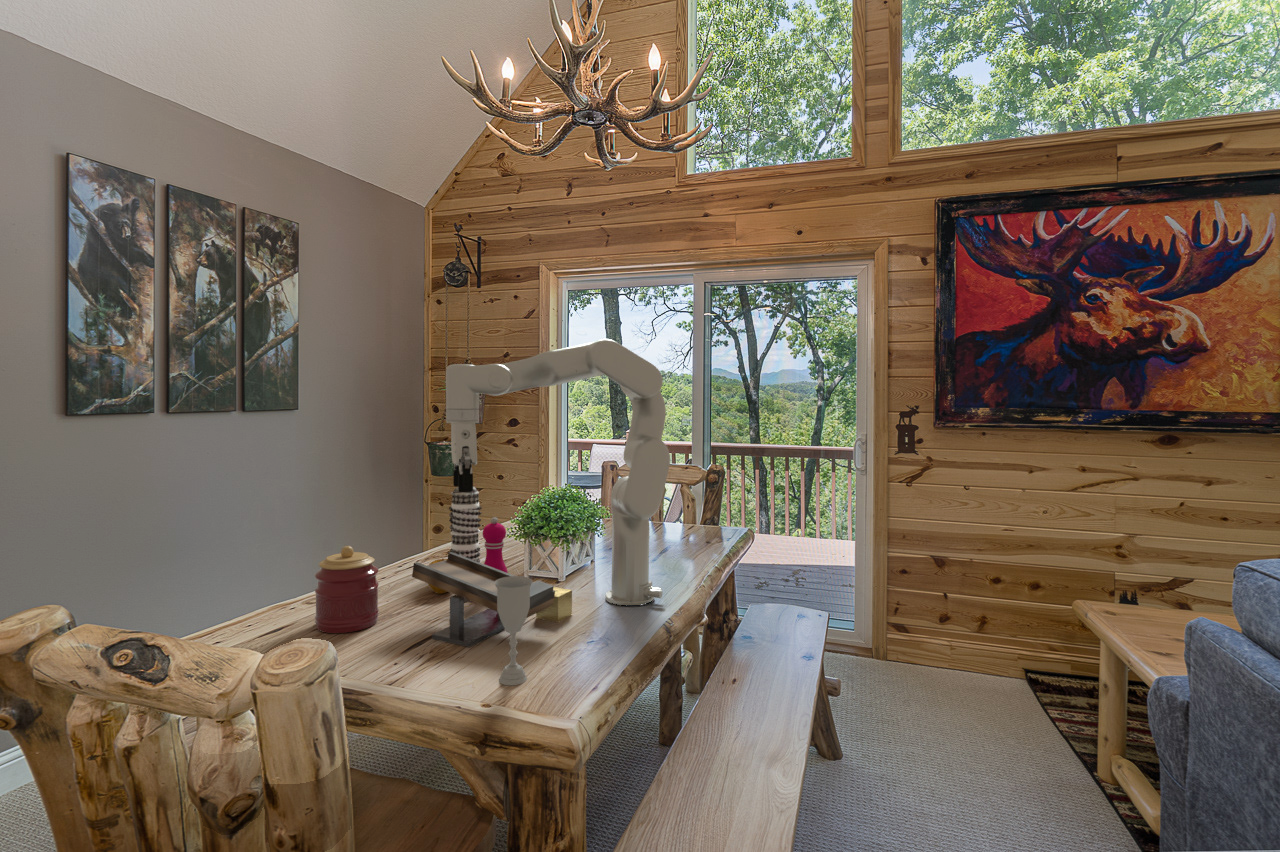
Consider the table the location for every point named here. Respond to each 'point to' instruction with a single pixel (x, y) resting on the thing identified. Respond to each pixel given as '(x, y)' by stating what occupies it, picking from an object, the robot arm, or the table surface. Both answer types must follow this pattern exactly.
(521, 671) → the chalice
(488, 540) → the pepper mill
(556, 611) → the block
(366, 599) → the canister
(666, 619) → the table surface
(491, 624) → the stand
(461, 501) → the decorative candle
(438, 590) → the apple
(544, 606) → the beam
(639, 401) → the robot arm
